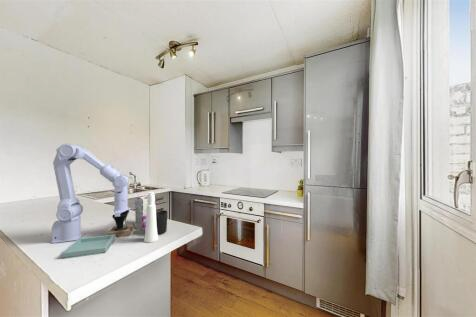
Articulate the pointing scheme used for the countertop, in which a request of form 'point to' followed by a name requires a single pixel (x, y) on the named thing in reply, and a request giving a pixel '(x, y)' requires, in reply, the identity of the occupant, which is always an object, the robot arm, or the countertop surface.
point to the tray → (89, 246)
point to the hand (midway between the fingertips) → (121, 227)
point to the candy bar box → (141, 211)
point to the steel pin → (123, 226)
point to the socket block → (121, 231)
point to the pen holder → (161, 221)
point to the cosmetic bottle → (151, 220)
